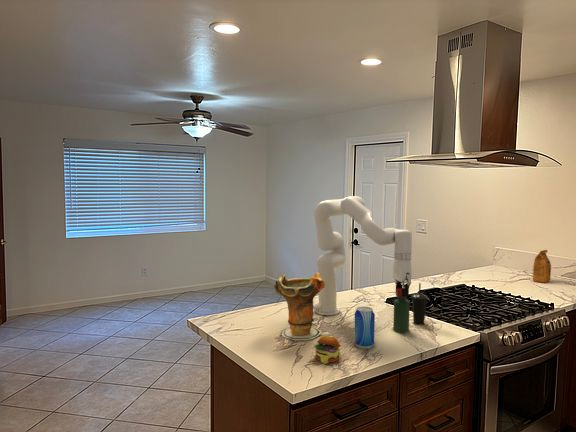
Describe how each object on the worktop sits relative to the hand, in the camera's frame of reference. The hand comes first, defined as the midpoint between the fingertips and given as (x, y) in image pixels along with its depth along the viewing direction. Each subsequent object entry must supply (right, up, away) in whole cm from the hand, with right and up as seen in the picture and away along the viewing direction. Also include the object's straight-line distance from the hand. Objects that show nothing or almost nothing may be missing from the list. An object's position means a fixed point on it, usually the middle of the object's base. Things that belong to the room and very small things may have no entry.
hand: (402, 294), depth 192 cm
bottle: (0, -17, +1) cm, 17 cm away
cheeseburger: (-38, -20, -30) cm, 52 cm away
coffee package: (+125, -9, +97) cm, 158 cm away
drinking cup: (+11, -16, +11) cm, 23 cm away
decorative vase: (-48, -18, -3) cm, 51 cm away
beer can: (-21, -19, -17) cm, 33 cm away
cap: (0, -1, 0) cm, 1 cm away
